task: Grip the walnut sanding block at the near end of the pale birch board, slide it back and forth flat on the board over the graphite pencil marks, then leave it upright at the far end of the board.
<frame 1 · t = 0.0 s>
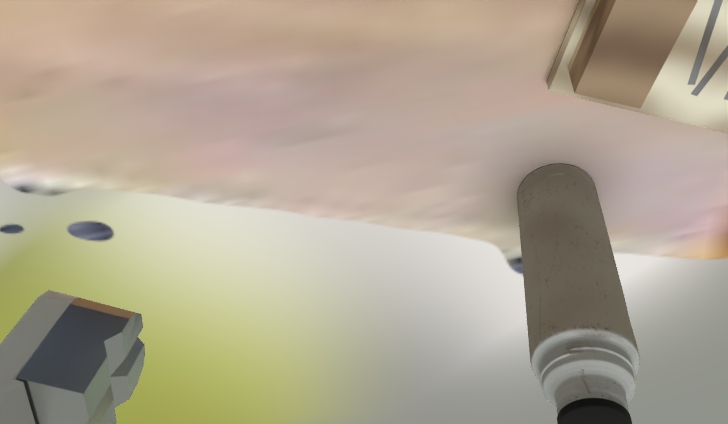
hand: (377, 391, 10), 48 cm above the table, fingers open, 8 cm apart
sanding block: (620, 26, 50), point 2 cm above the table, touching board
thermos bottle: (555, 194, 64), on the table
board: (684, 33, 52), on the table
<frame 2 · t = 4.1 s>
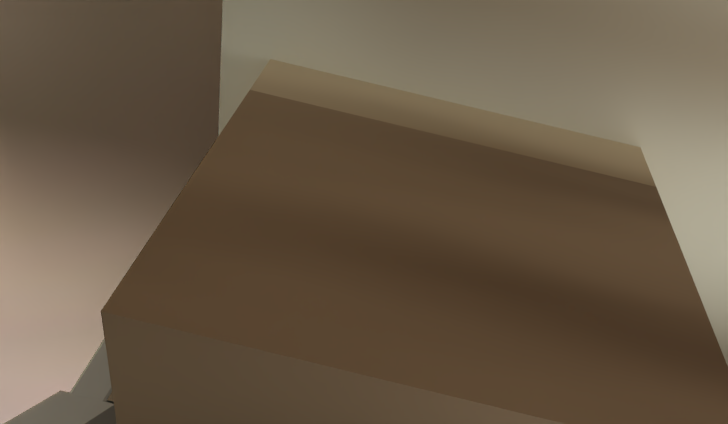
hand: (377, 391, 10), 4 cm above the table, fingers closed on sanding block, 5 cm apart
sanding block: (390, 309, 12), point 2 cm above the table, touching board, gripper
board: (672, 306, 13), on the table
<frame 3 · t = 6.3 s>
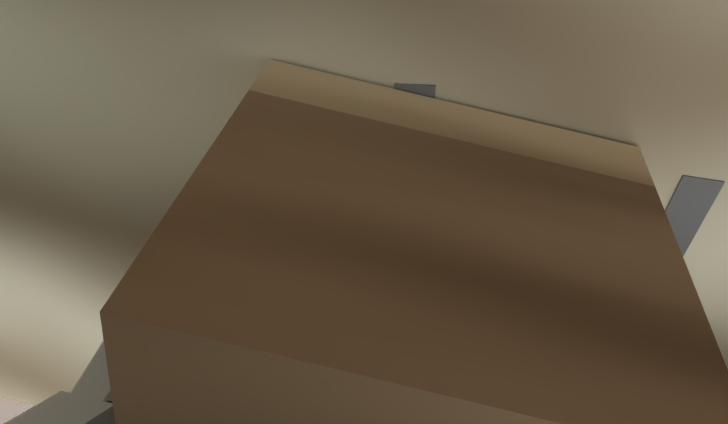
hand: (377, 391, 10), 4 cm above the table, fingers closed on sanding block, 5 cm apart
sanding block: (390, 309, 12), point 2 cm above the table, touching gripper
board: (369, 224, 13), on the table
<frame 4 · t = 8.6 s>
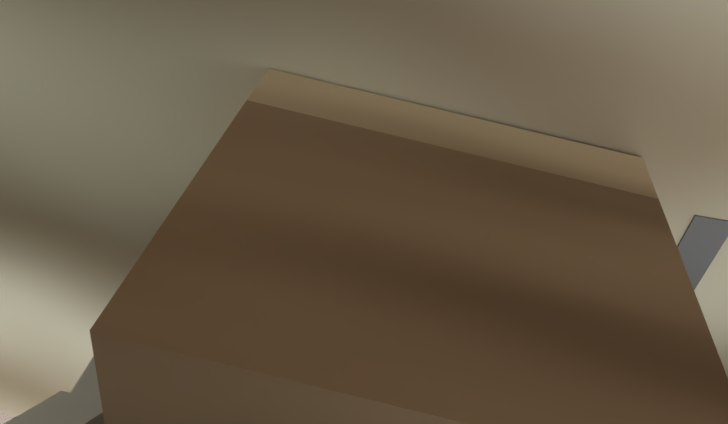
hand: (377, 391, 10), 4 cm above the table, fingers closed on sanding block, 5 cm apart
sanding block: (390, 319, 11), point 2 cm above the table, touching gripper
board: (378, 249, 13), on the table
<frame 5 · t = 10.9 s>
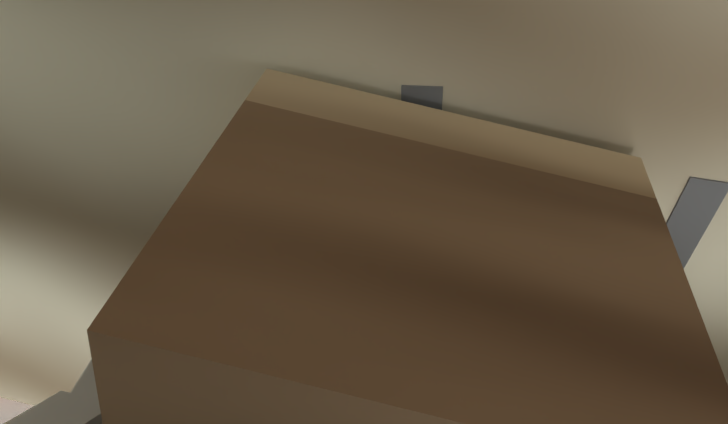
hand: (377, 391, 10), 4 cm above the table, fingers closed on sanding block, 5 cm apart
sanding block: (389, 318, 11), point 2 cm above the table, touching gripper
board: (374, 225, 13), on the table
when the fingers open (4 cm above the table, at t = 13.1 s): sanding block stays where it is, resting on board.
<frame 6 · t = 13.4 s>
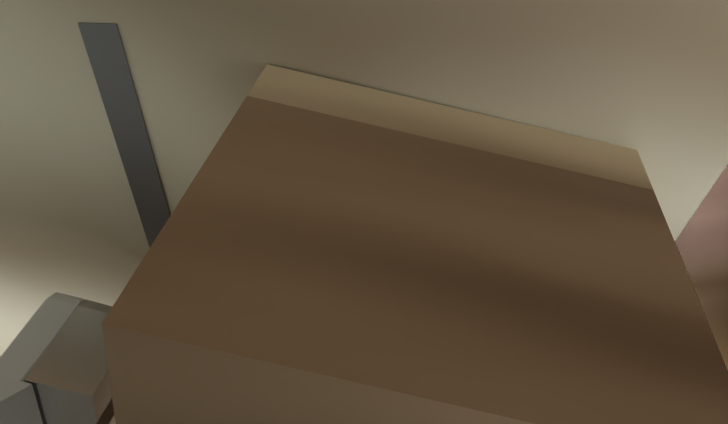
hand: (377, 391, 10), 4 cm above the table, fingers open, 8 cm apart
sanding block: (388, 312, 12), point 2 cm above the table, touching board
board: (155, 182, 13), on the table
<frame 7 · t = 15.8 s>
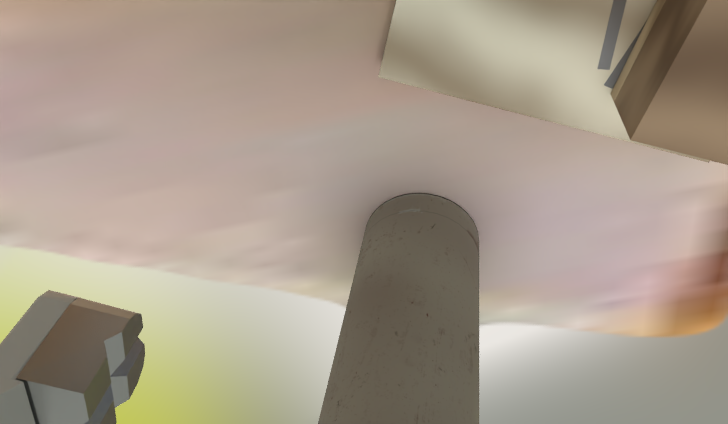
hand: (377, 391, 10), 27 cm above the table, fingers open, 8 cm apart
sanding block: (705, 25, 29), point 2 cm above the table, touching board
thermos bottle: (421, 237, 43), on the table
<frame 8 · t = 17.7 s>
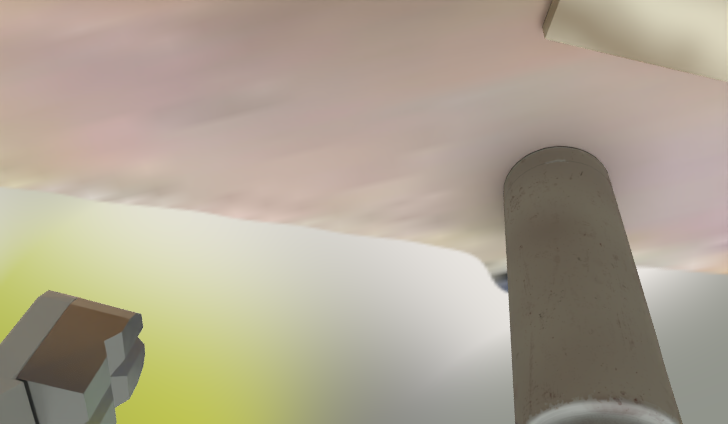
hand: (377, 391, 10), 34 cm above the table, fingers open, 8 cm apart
thermos bottle: (555, 188, 47), on the table
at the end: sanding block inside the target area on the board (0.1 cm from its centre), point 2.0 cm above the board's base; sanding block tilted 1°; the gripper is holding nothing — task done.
